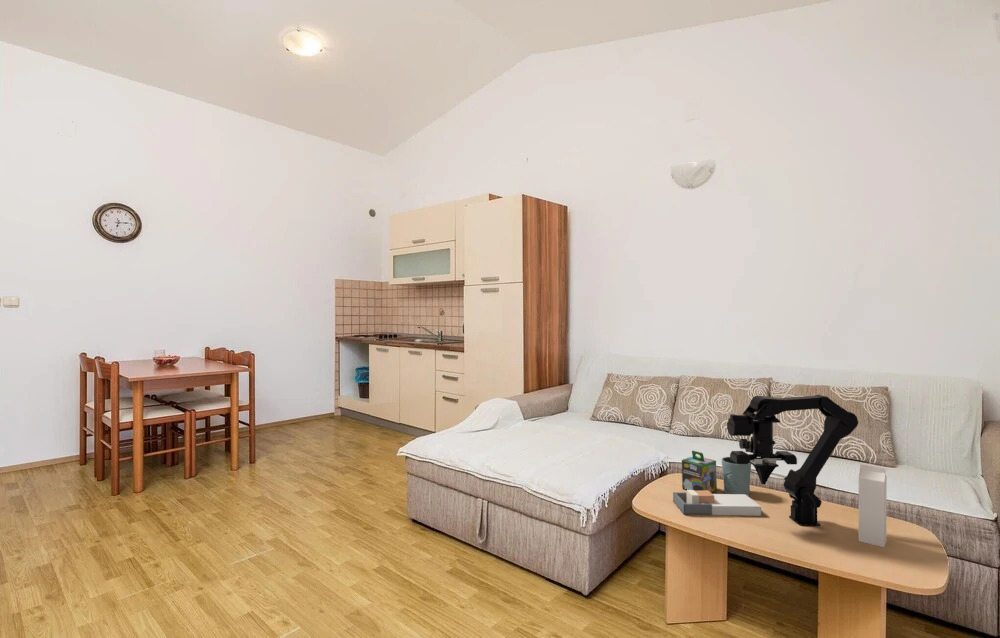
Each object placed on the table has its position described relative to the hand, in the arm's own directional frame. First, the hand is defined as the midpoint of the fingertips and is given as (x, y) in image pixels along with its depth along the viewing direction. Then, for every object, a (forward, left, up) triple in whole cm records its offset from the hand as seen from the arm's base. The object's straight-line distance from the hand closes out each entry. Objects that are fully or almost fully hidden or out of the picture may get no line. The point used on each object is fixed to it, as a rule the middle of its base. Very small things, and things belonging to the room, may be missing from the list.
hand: (763, 484), depth 156 cm
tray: (+19, -10, -12) cm, 25 cm away
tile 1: (+18, -10, -9) cm, 22 cm away
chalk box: (+10, -28, -12) cm, 32 cm away
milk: (-25, +13, -12) cm, 31 cm away
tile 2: (+15, -10, -9) cm, 20 cm away
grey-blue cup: (-3, -26, -12) cm, 29 cm away
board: (+6, -10, -12) cm, 17 cm away
